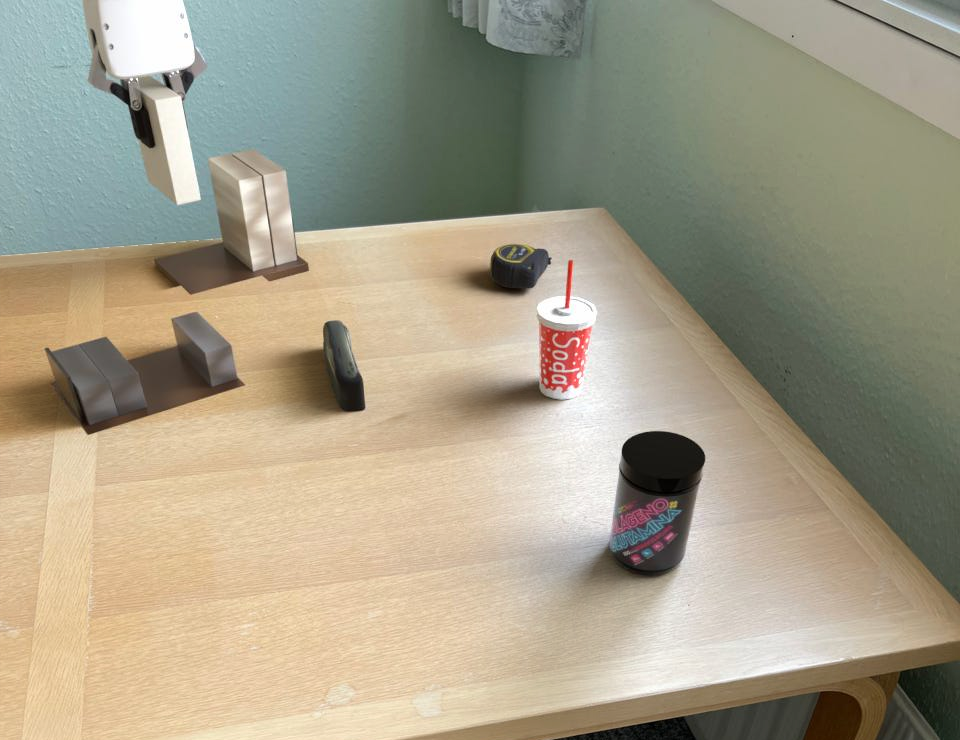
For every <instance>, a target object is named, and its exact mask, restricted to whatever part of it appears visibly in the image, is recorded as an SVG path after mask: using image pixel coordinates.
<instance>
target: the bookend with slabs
mask: <svg viewBox="0 0 960 740" xmlns="http://www.w3.org/2000/svg"><path fill="white" fill-rule="evenodd" d="M207 163H208V168H209V173H210V178H211V185H212V190H213V195H214V196H213V197H214V202H215V207H216V212H217V213H216V214H217V217H218V224H219V228H220V234H221V240H222V242H217V243H213V244H210V245H209V244H208V245H205V246H201V247H199V248H198V247H197V248H193V249H189V250H186V251H181V252H178V253H173V254H169V255H165V256H161V257H157V258H153V262H154V267H155V268H156V269H157V270H158V271H159V272H161V273H162V274H163V276H165V277H166V278H167V279H168V280H169V281H170V282H171V283H172V284H173V285H174V286H175V287H182V288H183V289H184V290H185V291H186V292H187V293H188V294H190V295H191V296H192V295H195V294H198V293H203V292H206V291H211V290H213V289H218V288H221V287H225V286H229V285H232V284H236V283H240V282H243V281H247V280H251V279H255V278H259V277H263V278H264V279H265V280H266V281H268V282H271V281H275V280H278V279H279V280H280V279H282V278H286V277H290V276H293V275H296V274H297V275H298V274H301V273H305V272H308V271H310V266H309V262H308V261H306V260H305V259H304V258H302V257H301V256H300V255H299V254H298V247H297V240H296V232H295V223H294V218H293V216H292V210H291V209H292V208H291V203H290V194H289V193H290V192H289V186H288V178H287V170H285V169H284V168H283V167H281V166H280V165H278V164H277V163H275V162H274V161H272V160H271V159H269V158H268V157H266V156H265V155H263V154H262V153H260V152H258V150H256V149H254V148H251V149H246V150H242V151H236V152H232V153H227V154H222V155H218V156H213V157H208V158H207Z"/></svg>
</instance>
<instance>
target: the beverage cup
mask: <svg viewBox="0 0 960 740" xmlns="http://www.w3.org/2000/svg"><path fill="white" fill-rule="evenodd" d="M573 267H574V260H572V259H569V260H568V261H567V272H566V286H565V287H566V288H565V295H563V296H561V295H560V296H552V297H550V298H549V297H548V298H545V299H543V300H542V301H540V302H539V303H538V305H537V307H536V318H537V320H538V349H539V350H538V354H539V355H538V358H539V359H538V362H539V364H538V365H539V366H538V367H539V368H538V369H539V371H538V373H539V376H538V377H539V379H538V380H539V384H538V385H539V390H540V392H541V394H543V395H544V396H546V397H548V398H551V399H554V400H561V401H562V400H570V399H574V398H576V397H578V396H579V395H581V393H582V390H583V385H584V378H585V373H586V366H587V362H588V361H587V360H588V355H589V348H590V343H591V337H592V336H591V335H592V330H593V325H594V324H595V322H596V319H597V314H598V310H597V307H596V306H595V304H594V303H592V302H590V301H588V300H586V299H584V298H580V297H578V296H577V297H576V296H571V294H572V293H571V292H572V279H573V270H574V269H573Z"/></svg>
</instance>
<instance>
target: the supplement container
mask: <svg viewBox="0 0 960 740" xmlns="http://www.w3.org/2000/svg"><path fill="white" fill-rule="evenodd" d="M705 463H706V454H705V451H704V450H703V448H702V447H701V445H699V444H698V443H697V442H696V441H695V440H693V439H691V438H689V437H687V436H685V435H682V434H680V433H676V432H673V431H667V430H666V431H664V430H650V431H645V432H639V433H637V434H634V435H632V436H630V437H629V438H627V439H626V441H625V442H624V443H623V444H622V447H621V452H620V458H619V463H618V476H617V484H616V490H615V492H616V493H615V497H614V504H613V510H612V511H613V513H612V519H611V526H610V532H609V533H610V535H609V540H608V541H609V542H608V548H609V551H610V552H609V553H610V554H611V557H612V558H613V559H614V561H615V562H616V563H617V564H618V565H619V566H621V567H622V568H623V569H625V570H627V571H629V572H631V573H633V574H638V575H643V576H657V575H662V574H666V573H668V572H670V571H673V570H674V569H676V568H677V567H678V566H679V565H680V564H681V563H682V561H683V559H684V558H685V555H686V550H687V546H688V542H689V536H690V532H691V527H692V523H693V518H694V513H695V509H696V504H697V499H698V494H699V490H700V485H701V483H702V478H703V476H704V475H703V474H704V473H703V472H704V468H705Z"/></svg>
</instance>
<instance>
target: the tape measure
mask: <svg viewBox="0 0 960 740" xmlns="http://www.w3.org/2000/svg"><path fill="white" fill-rule="evenodd" d="M552 258H553V257H550V255H549V252H548V250H546V249H545V248H538V247H537V248H534V247H532V246H530V245H528V244H527V245H526V244H523V243H508V244H504V245H501V246H499V247H497V248H496V249H495V250H494V251H493V252H492V254H491V257H490V264H489V266H490V267H489V272H490V273H489V274H490V277H491V279H492V280H493V281H494V282H495V283H496V284H498V285H500V286H502V287H505V288H509V289H533V288H535V287H536V285H537V283H538V280H539V279H540V278H541V276H543V274H544V273H545V272H546V270H547V268H548V266H550V265H551V264H552Z"/></svg>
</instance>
